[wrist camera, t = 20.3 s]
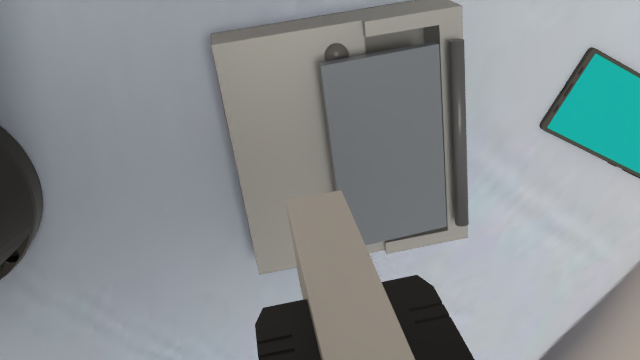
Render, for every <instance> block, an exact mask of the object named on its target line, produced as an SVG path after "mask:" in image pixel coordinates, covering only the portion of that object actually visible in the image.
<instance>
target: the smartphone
mask: <svg viewBox="0 0 640 360" xmlns="http://www.w3.org/2000/svg"><path fill="white" fill-rule="evenodd" d="M540 128H542V129H543V130H545V131H547V132H549V133H551V134H553V135H555V136H557V137H559V138H561V139H563V140H565V141H567V142H569V143H571V144H573V145H575V146H577V147H579V148H581V149H583V150H585V151H587V152H589V153H591V154H593V155H595V156H597V157H599V158H601V159H603V160H605V161H607V162H608V163H610V164H611V165H614V166H618V167H620V168H622V170H624V171H626V172H628V173H630V174H632V175H634V176H636V177H638V178H640V74H639V73H638V72H636V71H634V70H632V69H630V68H629V67H627V66H625V65H623V64H622V63H620V62H618V61H616V60H615V59H613V58H611V57H609V56H608V55H606V54H604V53H602V52H601V51H599V50H597V49H595V48H589V49H588V50H587V51H586V53H585V55H584V56H583V58H582V59H581V61H580V62H579V64H578V65H577V67H576V68H575V70H574V72H573V73H572V75H571V76H570V78H569V79H568V81H567V82H566V86H565V87H564V89H563V90H562V91H561V92H560V93H559V95H558V96H557V98H556V99H555V101H554V103H553V104H552V106H551V107H550V109H549V110H548V112H547V113H546V115H545V116H544V118H543V120H542V121H541V123H540Z"/></svg>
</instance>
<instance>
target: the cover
mask: <svg viewBox="0 0 640 360" xmlns="http://www.w3.org/2000/svg"><path fill="white" fill-rule="evenodd" d="M448 44H449V72H450V100H451V128H452V156H453V184H454V212H455V225H457V226H460V227H463V226H467V225H468V185H467V144H466V103H465V62H464V40H463V39H452V40H449V41H448ZM318 66H319V73H320V81H321V88H322V96H323V103H324V111H325V118H326V126H327V133H328V141H329V148H330V156H331V163H332V171H333V178H334V186H335V191H339V190H342V193H343V195H344V197H345V200H346V202H347V204H348V207H349V209H350V211H351V213H352V216H353V218H354V220H355V223H356V225H357V227H358V230H359V232H360V234H361V236H362V239H363V241H364V243H365V246H366V245H370V244H374V243H378V242H383V241H387V240H391V239H396V238H400V237H404V236H409V235H413V234H417V233H422V232H426V231H430V230H434V229H439V228H443V227H447V219H446V196H445V173H444V149H443V126H442V103H441V79H440V56H439V44H438V43H436V42H429V43H423V44H418V45H413V46H407V47H402V48H397V49H391V50H386V51H381V52H375V53H370V54H365V55H359V56H354V57H349V58H343V59H338V60H333V61H327V62H322V63H318Z"/></svg>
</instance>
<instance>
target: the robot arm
mask: <svg viewBox="0 0 640 360" xmlns="http://www.w3.org/2000/svg"><path fill="white" fill-rule="evenodd" d="M42 204H43V203H42V192H41V187H40V183H39V180H38V176H37V174H36V171H35V169H34V167H33V165H32V163H31V161H30V160H29V158H28V156H27V155H26V153H25V152H24V151H23V149H22V148H21V147H20V145H19V144H18V143H17V142H16V141H15V140H14V139H13V138H12V137H11V136H10V135H9V134H8V133H7V132H6V131H5V130H4V129H3V128H1V127H0V280H1V279H2V278H3V277H5V276H6V275H7V274H8V273H9V272H11V271H12V270H13V269H14V267H15V266H16V265H17V264H18V263H19V262H20V261H21V259H22V258H23V257H24V255H25V254H26V252H27V250H28V248H29V246H30V244H31V243H32V241H33V239H34V237H35V235H36V233H37V230H38V228H39V225H40V221H41V216H42ZM286 207H287V213H288V218H289V224H290V230H291V235H292V241H293V247H294V253H295V258H296V264H297V270H298V275H299V281H300V287H301V291H302V295H303V300H300V301H295V302H290V303H285V304H280V305H275V306H270V307H265V308H263V309H262V311H261V313H260V315H259V318H258V320H257V322H256V324H255V328H256V339H257V349H258V357H259V360H474V358H473V356H472V354H471V353H470V351H469V349H468V347H467V345H466V344H465V342H464V340H463V338H462V337H461V335H460V333H459V331H458V329H457V328H456V326H455V324H454V322H453V321H452V319H451V317H449V313H448V312H447V310H446V308H445V306H444V305H442V301H441V299H440V297H439V296H438V294H437V292H436V290H435V289H434V287H433V286H432V285H431V284H429V283H428V282H426V281H425V280H423V279H422V278H421V277H419V276H418V275H414V276H409V277H405V278H400V279H395V280H390V281H385V282H381V280H380V278H379V276H378V273H377V271H376V269H375V266H374V264H373V262H372V259H371V257H370V255H369V253H368V250H367V248H366V246H365V243H364V241H363V239H362V236H361V234H360V232H359V230H358V227H357V225H356V223H355V220H354V218H353V216H352V213H351V211H350V209H349V207H348V204H347V202H346V200H345V197H344V195H343V193H342V190H339V191H334V192H329V193H324V194H318V195H313V196H308V197H302V198H297V199H292V200H287V201H286Z"/></svg>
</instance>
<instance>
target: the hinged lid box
mask: <svg viewBox="0 0 640 360" xmlns="http://www.w3.org/2000/svg"><path fill="white" fill-rule="evenodd" d="M452 39H463V24H462V6H461V5H459V4H457V3H455V2H453V1H450V0H414V1H408V2H402V3H396V4H390V5H384V6H378V7H372V8H366V9H359V10H353V11H347V12H341V13H335V14H329V15H323V16H317V17H311V18H305V19H299V20H292V21H286V22H280V23H274V24H268V25H262V26H256V27H250V28H244V29H238V30H231V31H225V32H219V33H213V34H211V47H212V51H213V56H214V61H215V66H216V71H217V75H218V80H219V85H220V90H221V94H222V99H223V104H224V109H225V113H226V118H227V123H228V128H229V133H230V137H231V142H232V147H233V152H234V156H235V161H236V166H237V171H238V176H239V180H240V185H241V190H242V195H243V199H244V204H245V209H246V214H247V219H248V223H249V228H250V233H251V238H252V242H253V247H254V252H255V257H256V261H257V266H258V271H259V275H261V274H266V273H271V272H276V271H281V270H286V269H291V268H296V267H297V264H296V258H295V253H294V247H293V241H292V235H291V230H290V224H289V218H288V213H287V207H286V201H287V200H292V199H297V198H302V197H308V196H313V195H318V194H324V193H329V192H334V191H335V186H334V178H333V171H332V163H331V156H330V148H329V141H328V133H327V126H326V118H325V111H324V103H323V96H322V88H321V81H320V73H319V66H318V63H322V62H327V61H333V60H338V59H343V58H349V57H354V56H359V55H365V54H370V53H375V52H381V51H386V50H391V49H397V48H402V47H407V46H413V45H418V44H423V43H429V42H436V43H438V44H439V56H440V79H441V103H442V126H443V149H444V173H445V196H446V219H447V227H443V228H439V229H434V230H430V231H426V232H422V233H417V234H413V235H409V236H404V237H400V238H396V239H391V240H387V241H383V242H378V243H374V244H370V245H366V248H367V250H368V253H371V252H376V251H381V250H385V251H386V253H387V254H388V253H393V252H398V251H403V250H408V249H413V248H418V247H423V246H428V245H433V244H438V243H443V242H448V241H453V240H458V239H463V238H468V225H467V226H463V227H460V226H457V225H455V212H454V184H453V156H452V128H451V100H450V72H449V44H448V41H449V40H452Z"/></svg>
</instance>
